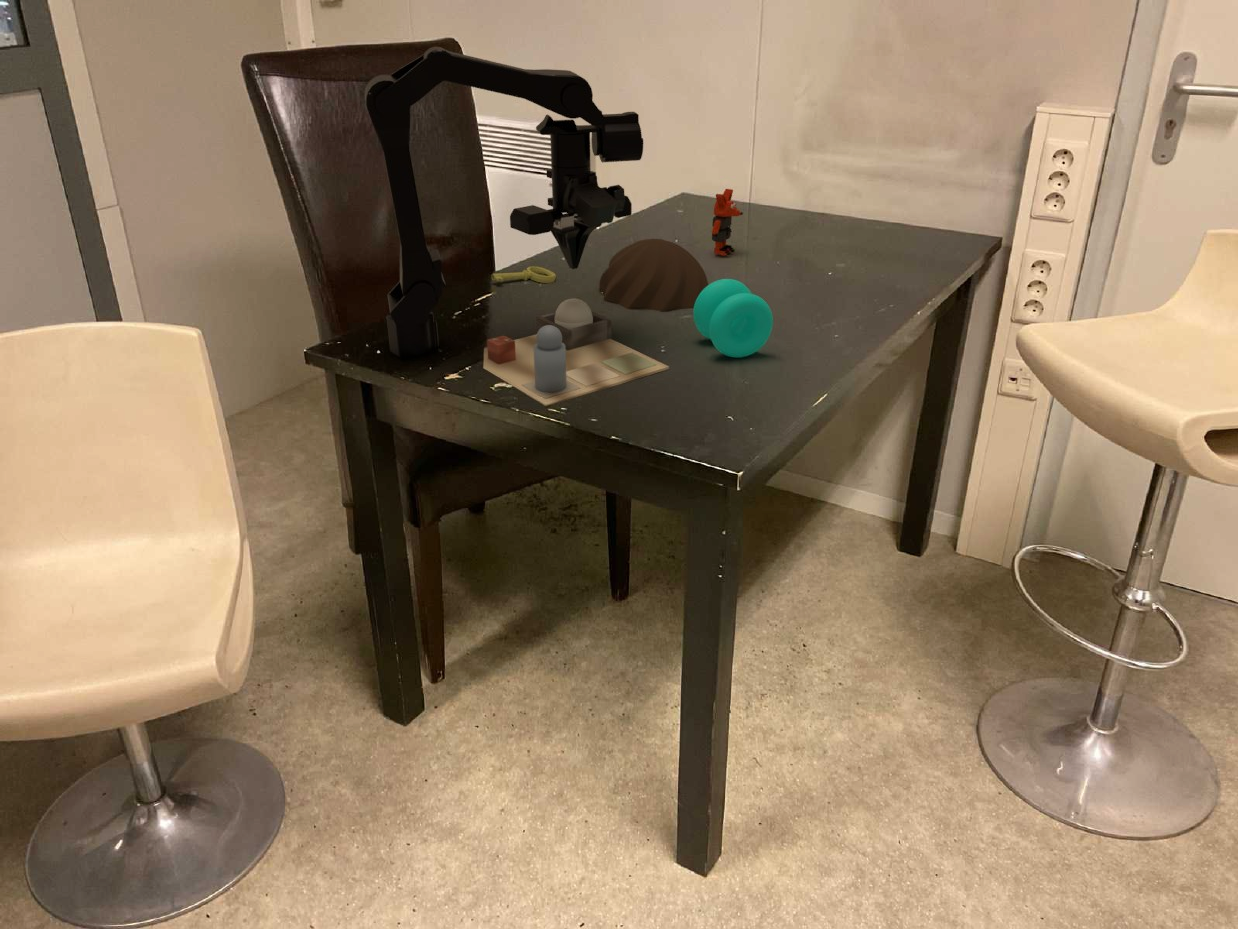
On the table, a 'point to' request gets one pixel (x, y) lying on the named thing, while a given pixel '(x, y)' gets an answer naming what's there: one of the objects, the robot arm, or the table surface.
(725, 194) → the toy animal
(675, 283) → the decorative dome
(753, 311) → the teal yo-yo
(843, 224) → the table surface
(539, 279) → the key
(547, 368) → the pawn
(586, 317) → the dome button
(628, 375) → the game board
